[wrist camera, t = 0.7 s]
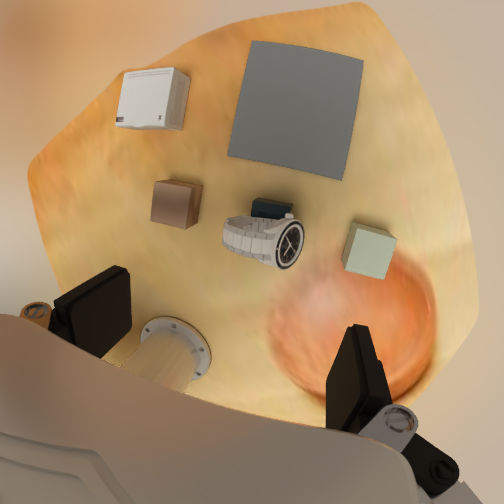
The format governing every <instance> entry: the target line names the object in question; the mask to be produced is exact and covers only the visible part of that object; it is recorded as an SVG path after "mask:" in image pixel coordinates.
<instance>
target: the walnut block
mask: <svg viewBox="0 0 504 504" xmlns="http://www.w3.org/2000/svg"><path fill="white" fill-rule="evenodd" d="M202 189H203V186H200V185H195V184H190V183H184V182H179V181H173V180H164V181H156V182H155V183H154V191H153V200H152V209H151V219H150V221H153V222H157V223H161V224H165V225H169V226H173V227H178V228H182V229H187V228H189V227H191V226H193V225H195V224H197V222H198V215H199V208H200V202H201V196H202Z"/></svg>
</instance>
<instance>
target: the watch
mask: <svg viewBox="0 0 504 504" xmlns="http://www.w3.org/2000/svg"><path fill="white" fill-rule="evenodd" d="M292 205H293V204H291V203H285V202H280V201H274V200H268V199H262V198H257V199H255V200H253V204H252V211H251V216H246V215H242V216H238V217H231V218H227V219H226V221H225V222H224V229H223V239H222V244H223V245H224V246H225V247H226V248H227V249H228V250H230V251H232V252H235V253H236V254H239V255H242V256H246V257H249V258H254V259H259V262H261V263H263V264H267V265H270V266H274V267H276V268H278V269H280V270H286V269H288V268H290V267H291V266H292V265H293V264H294V263H295V262H296V260H297V259H298V257H299V255H300V253H301V250H302V247H303V243H304V227H303V224H302V223H301V222H300V221H299V220H296V219H293V217H294V215H293V214H291V211H292Z"/></svg>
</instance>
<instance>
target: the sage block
mask: <svg viewBox="0 0 504 504" xmlns="http://www.w3.org/2000/svg"><path fill="white" fill-rule="evenodd" d="M396 242H397V239H396V238H395V237H394V236H393V235H391V234H390V233H389V232H387V231H383V230H380V229H376V228H373V227H369V226H366V225H362V224H359V223H355V222H352V223H351V227H350V231H349V234H348V238H347V241H346V245H345V248H344V252H343V255H342V259H341V261H342V263H343V266H344V269H345V270H346V271H350V272H354V273H358V274H362V275H366V276H370V277H374V278H378V279H382V280H384V278H385V275H386V272H387V269H388V267H389V264H390V261H391V258H392V255H393V252H394V248H395V245H396Z"/></svg>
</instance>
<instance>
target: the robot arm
mask: <svg viewBox="0 0 504 504" xmlns="http://www.w3.org/2000/svg"><path fill="white" fill-rule="evenodd" d="M54 307H55V308H54V309H53V310H52V309H51V306H50V305H49V304H47V303H44V302H33V303H30V304H28V305H26V306H25V307H24V308H23V309H22V310H21V313H20V316H19V317H18V316H13V315H8V314H0V504H482V502H481V501H480V500H479V499H478V498H477V496H476V495H475V494H474V493H473V491H472V490H471V489H470V488H469V487H468V485H467V484H466V483H465V482H464V481H463V482H462V483H460V482H459V481H458V477H459V468H458V465H457V463H456V462H455V461H454V460H453V459H452V458H451V457H449V456H448V455H446V454H445V453H444V452H442V451H441V450H439V449H438V448H436V447H435V446H433V445H432V444H431V443H429V442H428V441H426V440H425V439H424V438H422V437H421V436H419V435H418V434H417V433H415V432H416V430H417V428H418V420H417V417H416V415H414V413H413V412H412V411H411V410H410V409H408V408H407V407H405V406H402V405H398V404H393V403H392V399H391V395H390V391H389V387H388V383H387V380H386V376H385V372H384V369H383V365H382V363H381V361H380V360H378V359H377V356H376V352H375V349H374V345H373V342H372V338H371V335H370V332H369V328H368V326H363V325H358V324H354V325H353V326H352V327H348V328H347V330H346V332H345V335H344V338H343V340H342V343H341V345H340V348H339V350H338V353H337V355H336V358H335V360H334V363H333V365H332V367H331V370H330V372H329V374H328V377H327V380H326V428H322V427H316V426H311V425H305V424H300V423H294V422H289V421H284V420H279V419H274V418H269V417H265V416H260V415H256V414H252V413H248V412H244V411H240V410H236V409H233V408H229V407H225V406H222V405H219V404H215V403H212V402H209V401H205V400H202V399H199V398H196V397H193V396H190V395H187V394H184V391H185V389H186V388H187V386H188V384H189V382H190V381H192V380H197V379H199V378H201V377H202V376H203V375H204V374H205V373H206V372H207V370H208V368H209V366H210V362H211V354H210V350H209V347H208V345H207V343H206V341H205V340H204V339H203V337H202V336H201V335H200V334H199V333H198V332H197V331H196V330H195V329H194V328H193V327H191V326H190V325H188V324H187V323H185V322H183V321H181V320H178V319H175V318H171V317H158V318H155V319H153V320H151V321H150V322H148V323H147V324H146V325H145V326H144V328H143V330H142V332H141V336H140V340H141V345H140V346H139V347H138V348H137V349H136V350H135V351H134V352H133V353H132V355H131V356H130V357H129V358H128V359H127V360H126V361H125V362H124V363H123V364H122V365H121V366H120V368H119V367H117V366H115V365H112V364H110V363H108V362H106V361H104V360H102V359H101V358H102V357H103V356H104V355H105V354H106V353H107V352H108V351H109V350H110V349H111V348H112V347H113V346H114V345H115V344H116V343H117V342H118V341H120V340H121V339H122V338H123V337H124V336H125V335H126V334H127V333H128V332H129V331H130V329H131V327H132V314H131V291H130V274H129V273H128V271H127V269H126V268H123V267H120V266H116V265H114V266H112V267H110V268H108V269H107V270H105V271H103V272H101V273H100V274H98V275H96V276H94V277H93V278H91V279H89V280H88V281H86V282H84V283H82V284H81V285H79V286H77V287H76V288H74V289H72V290H71V291H69V292H67V293H66V294H64V295H62V296H61V297H59V298H57V299H56V300H54Z"/></svg>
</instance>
